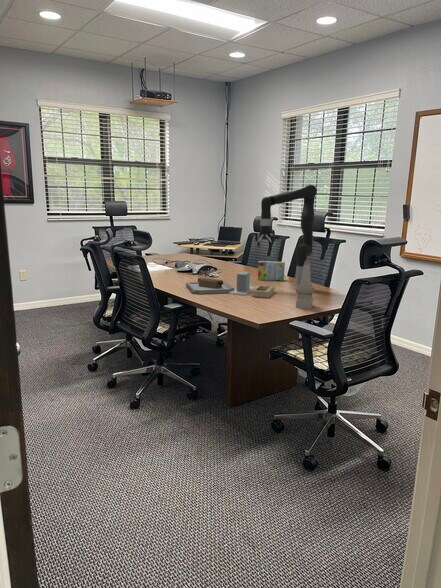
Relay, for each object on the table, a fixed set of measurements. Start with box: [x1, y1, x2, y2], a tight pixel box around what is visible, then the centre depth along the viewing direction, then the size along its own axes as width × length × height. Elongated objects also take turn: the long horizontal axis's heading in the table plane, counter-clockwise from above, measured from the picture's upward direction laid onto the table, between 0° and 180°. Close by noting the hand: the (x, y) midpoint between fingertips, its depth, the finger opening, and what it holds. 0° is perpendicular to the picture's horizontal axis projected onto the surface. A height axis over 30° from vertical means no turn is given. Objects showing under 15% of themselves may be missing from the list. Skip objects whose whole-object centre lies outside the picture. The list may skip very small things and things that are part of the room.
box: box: [236, 271, 251, 292], centre depth 311 cm, size 6×12×12 cm, turn 161°
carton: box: [250, 284, 276, 299], centre depth 304 cm, size 12×21×4 cm, turn 161°
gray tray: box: [185, 277, 235, 295], centre depth 316 cm, size 30×30×8 cm
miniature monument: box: [295, 258, 315, 310], centre depth 270 cm, size 10×10×30 cm
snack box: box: [257, 260, 286, 282], centre depth 355 cm, size 21×6×15 cm, turn 84°
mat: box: [228, 285, 256, 296], centre depth 313 cm, size 12×26×1 cm, turn 161°
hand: (264, 247), depth 321 cm, fingers open, 8 cm apart
